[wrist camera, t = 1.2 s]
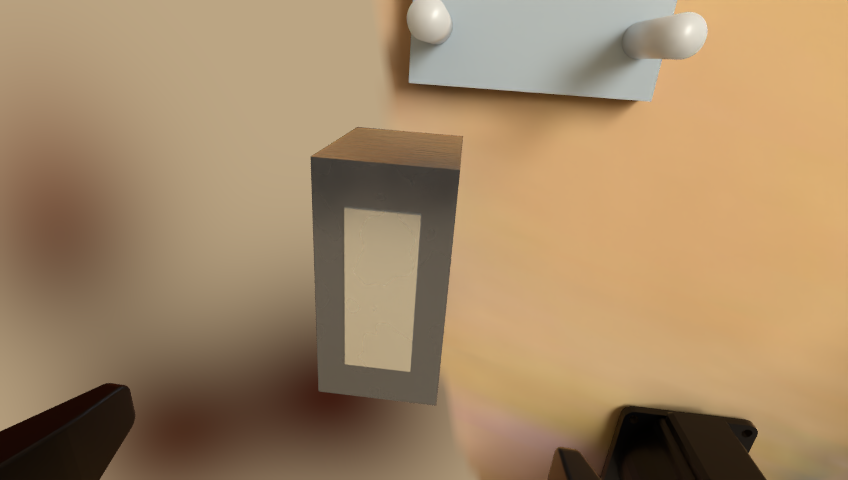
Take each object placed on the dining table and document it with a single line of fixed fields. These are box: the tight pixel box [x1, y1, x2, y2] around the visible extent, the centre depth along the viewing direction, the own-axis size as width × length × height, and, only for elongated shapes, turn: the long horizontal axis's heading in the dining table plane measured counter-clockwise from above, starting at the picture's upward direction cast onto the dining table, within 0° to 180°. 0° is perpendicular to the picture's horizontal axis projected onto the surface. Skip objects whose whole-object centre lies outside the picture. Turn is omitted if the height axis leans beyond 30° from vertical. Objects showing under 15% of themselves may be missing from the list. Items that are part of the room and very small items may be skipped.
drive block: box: [311, 127, 463, 405], centre depth 18 cm, size 9×4×6 cm, turn 176°
